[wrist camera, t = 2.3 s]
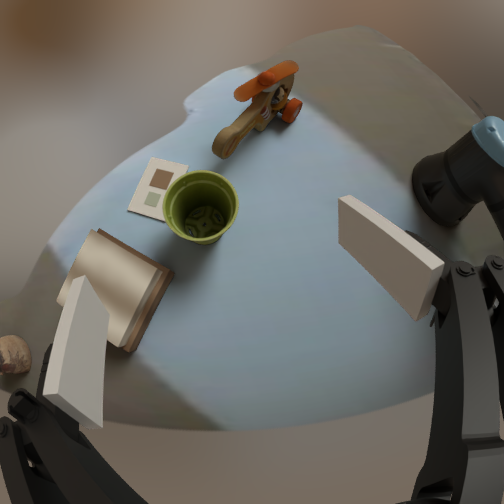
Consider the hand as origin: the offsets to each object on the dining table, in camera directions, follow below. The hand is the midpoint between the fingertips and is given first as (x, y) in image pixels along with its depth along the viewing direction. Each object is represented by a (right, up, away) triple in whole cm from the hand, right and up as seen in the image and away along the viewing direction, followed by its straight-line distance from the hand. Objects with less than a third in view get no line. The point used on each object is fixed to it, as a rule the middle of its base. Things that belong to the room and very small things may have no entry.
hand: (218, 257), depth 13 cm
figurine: (-41, -18, +21) cm, 49 cm away
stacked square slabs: (-18, -6, +25) cm, 32 cm away
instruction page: (-13, +11, +29) cm, 34 cm away
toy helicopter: (+3, +22, +33) cm, 40 cm away
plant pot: (-5, +4, +29) cm, 30 cm away
